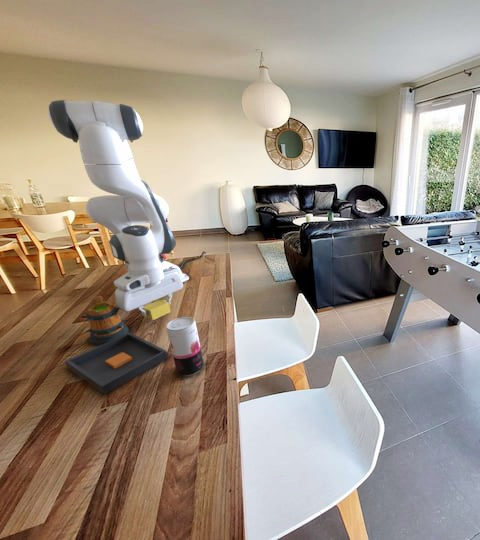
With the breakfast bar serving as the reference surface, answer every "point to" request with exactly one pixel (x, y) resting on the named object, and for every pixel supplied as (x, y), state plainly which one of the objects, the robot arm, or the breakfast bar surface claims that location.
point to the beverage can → (185, 346)
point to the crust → (118, 360)
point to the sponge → (157, 309)
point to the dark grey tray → (109, 378)
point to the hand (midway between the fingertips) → (156, 310)
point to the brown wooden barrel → (104, 322)
